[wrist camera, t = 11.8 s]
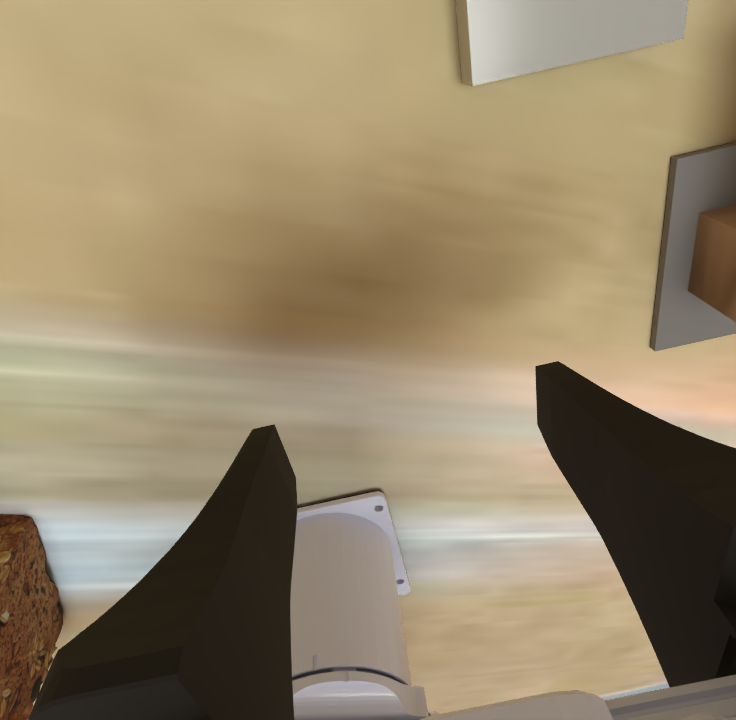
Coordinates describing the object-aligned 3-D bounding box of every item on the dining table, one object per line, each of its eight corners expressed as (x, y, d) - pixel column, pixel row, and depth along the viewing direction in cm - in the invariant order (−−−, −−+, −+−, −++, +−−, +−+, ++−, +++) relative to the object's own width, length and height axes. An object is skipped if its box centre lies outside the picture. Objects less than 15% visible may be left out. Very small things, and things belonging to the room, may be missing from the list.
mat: (772, 319, 24) (779, 323, 24) (650, 347, 25) (654, 351, 24) (824, 121, 20) (833, 122, 19) (671, 157, 20) (677, 159, 20)
